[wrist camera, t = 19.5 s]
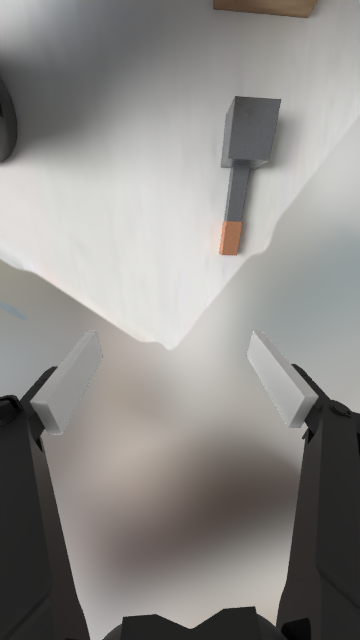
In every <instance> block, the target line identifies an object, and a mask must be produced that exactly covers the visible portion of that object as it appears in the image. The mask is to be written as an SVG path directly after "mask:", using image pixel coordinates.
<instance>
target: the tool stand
mask: <svg viewBox="0 0 360 640" xmlns="http://www.w3.org/2000/svg"><path fill="white" fill-rule="evenodd" d="M317 1H318V0H214V7H213V9H219V10H229V11H240V12H251V13H261V14H272V15H283V16H293V17H304V18H307V17H308V16H309V14H310V13H311V11H312V10H313V8H314V6H315V5H316V3H317Z"/></svg>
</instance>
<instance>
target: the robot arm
mask: <svg viewBox="0 0 360 640" xmlns="http://www.w3.org/2000/svg"><path fill="white" fill-rule="evenodd" d="M16 136H17V123H16V116H15V111H14V107H13V104H12V101H11V98H10V96H9V93H8V91H7V89H6V87H5V85H4V83H3V81H2V79H1V77H0V162H1V161H3V160H5V159H6V158H7V157H8V156H9V155H10V154H11V152H12V150H13V148H14V146H15V142H16ZM247 357H248V359H249V361H250V363H251V365H252V366H253V368H254V370H255V371H256V373H257V375H258V377H259V378H260V380H261V382H262V383H263V385H264V387H265V389H266V390H267V392H268V394H269V396H270V397H271V399H272V401H273V402H274V404H275V406H276V408H277V409H278V411H279V413H280V414H281V416H282V418H283V420H284V422H285V423H286V425H287V427H288V428H300V427H301V426H302V424H303V423H304V422H305V423H306V424H307V426H308V429H307V430H306V432H305V434H304V435H303V437H302V439H305V446H304V453H303V461H302V469H301V476H300V483H299V491H298V499H297V506H296V513H295V521H294V529H293V536H292V545H291V552H290V560H289V566H288V574H287V581H286V584H285V587H284V590H283V593H282V595H281V599H280V603H279V609H278V615H277V622H276V627H275V626H274V625H273V624H272V623H271V622H269V621H268V620H267V619H265V618H264V617H262V616H260V615H259V614H257V613H256V609H255V607H254V606H253V607H241V608H229V609H223V610H222V611H220V612H218V613H217V614H215V615H214V616H212V617H210V618H209V619H207V620H206V621H204V622H203V623H201V624H199V625H198V626H197V627H195V628H193V629H188V628H186V627H183V626H181V625H179V624H177V623H174V622H172V621H170V620H168V619H166V618H163V617H161V616H159V615H157V614H153V615H141V616H129V617H123V621H122V624H121V625H119V626H117V627H116V628H114V629H113V630H112V631H111V632H110V633H108V634H107V636H105V638H104V639H103V640H360V414H359V413H355V412H352V411H351V410H350V409H349V408H347V407H346V406H345V405H343V404H342V403H339V402H337V401H335V400H330V398H329V397H328V396H327V395H326V394H325V393H324V392H323V391H322V390H321V389H320V388H319V387H318V385H317V384H316V383H315V382H314V381H312V379H311V378H310V377H309V376H308V375H307V373H306V372H305V371H304V370H303V369H302V368H300V367H299V366H297V365H296V364H290V363H289V362H288V360H287V359H286V358H285V357H284V356H283V355H282V354H281V352H280V351H279V350H278V349H277V348H276V347H275V345H274V344H273V343H272V342H271V341H270V340H269V338H268V337H267V336H266V335H265V334H264V333H263V332H262V331H253V333H252V337H251V341H250V345H249V349H248V352H247ZM102 358H103V356H102V351H101V346H100V342H99V338H98V333H97V331H87V332H86V333H85V334H84V335H83V337H82V338H81V339H80V340H79V341H78V343H77V344H76V345H75V347H74V348H73V349H72V350H71V351H70V353H69V354H68V355H67V356H66V358H65V359H64V360H63V361H62V363H61V364H60V365H59V366H58V367H51V368H50V369H48V370H47V371H45V372H44V373H43V374H42V376H41V377H40V378H39V380H37V381H36V382H35V384H34V386H32V387H31V388H30V389H29V391H28V392H27V393H26V394H25V395H24V396H23V397H22V399H21V400H20V401H19V400H18V398H17V396H14V395H6V396H3V397H0V640H90V636H89V632H88V628H87V624H86V620H85V616H84V613H83V610H82V608H81V606H80V603H79V600H78V597H77V594H76V590H75V585H74V581H73V576H72V572H71V567H70V563H69V558H68V554H67V549H66V545H65V540H64V536H63V531H62V527H61V522H60V518H59V514H58V509H57V504H56V500H55V495H54V491H53V486H52V482H51V477H50V473H49V468H48V464H47V460H46V455H45V450H44V446H43V441H42V438H41V436H40V435H41V434H42V432H43V430H44V429H45V430H46V432H47V433H48V434H49V435H50V434H51V435H52V434H63V432H64V430H65V428H66V426H67V424H68V422H69V420H70V419H71V417H72V415H73V413H74V411H75V409H76V407H77V405H78V403H79V401H80V399H81V398H82V396H83V394H84V392H85V390H86V388H87V386H88V384H89V382H90V380H91V379H92V377H93V375H94V373H95V371H96V369H97V367H98V365H99V363H100V361H101V359H102ZM305 437H306V438H305Z"/></svg>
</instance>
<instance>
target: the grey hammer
mask: <svg viewBox="0 0 360 640" xmlns="http://www.w3.org/2000/svg"><path fill="white" fill-rule="evenodd" d="M280 103H281V99H268V98H253V97H239V96H235V98H234V100H233V102H232V104H231V106H230V108H229V110H228V112H227V114H226V121H225V131H224V140H223V150H222V159H221V167H222V168H231V171H230V179H229V187H228V195H227V203H226V211H225V219H224V222H223V227H222V235H221V243H220V251H219V254H221V255H237V252H238V246H239V240H240V234H241V228H242V222H241V219H242V213H243V207H244V201H245V194H246V188H247V182H248V176H249V170H250V169H257V168H259V167H260V166H262V165H263V164H265V163H266V162H268V161H269V158H270V153H271V148H272V143H273V138H274V133H275V128H276V123H277V118H278V113H279V108H280Z"/></svg>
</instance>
